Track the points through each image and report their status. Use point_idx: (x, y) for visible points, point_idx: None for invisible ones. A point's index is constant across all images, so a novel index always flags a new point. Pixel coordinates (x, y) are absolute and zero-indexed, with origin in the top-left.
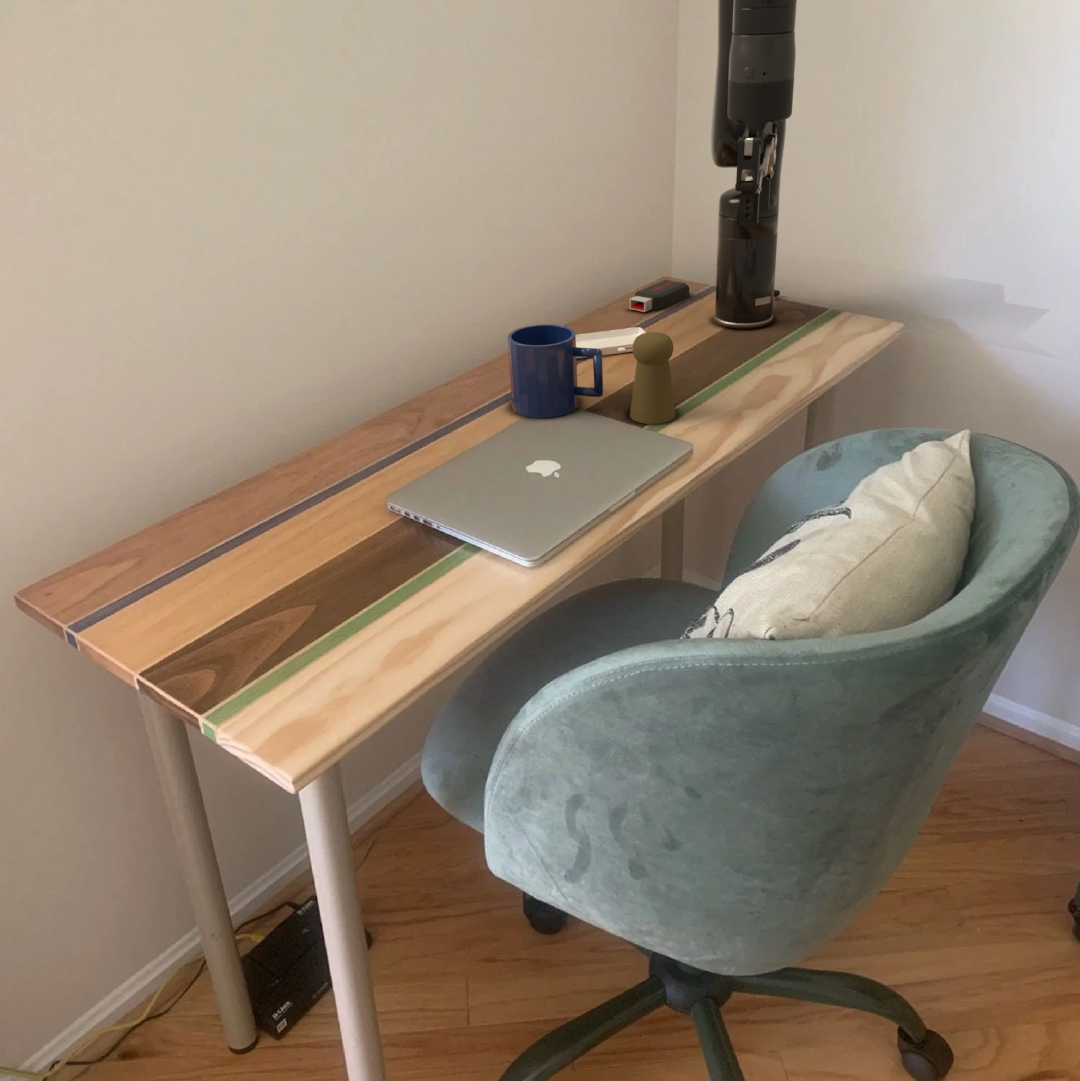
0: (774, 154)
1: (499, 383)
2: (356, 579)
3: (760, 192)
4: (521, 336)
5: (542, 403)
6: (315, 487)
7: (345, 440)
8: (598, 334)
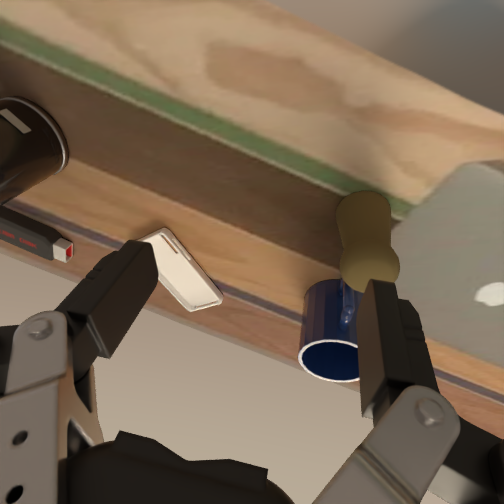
0: (35, 459)
1: (285, 331)
2: None
3: (126, 301)
4: (315, 367)
5: None
6: (492, 405)
7: None
8: (161, 278)
